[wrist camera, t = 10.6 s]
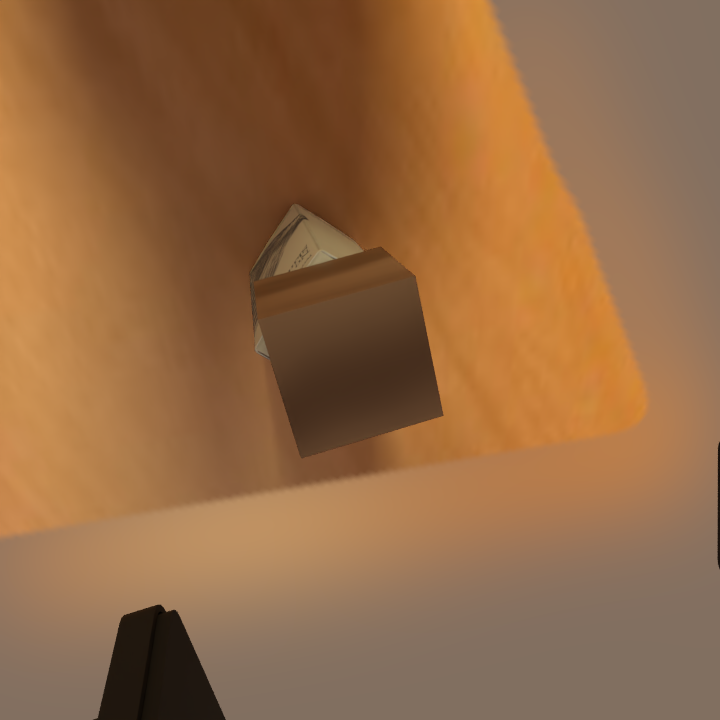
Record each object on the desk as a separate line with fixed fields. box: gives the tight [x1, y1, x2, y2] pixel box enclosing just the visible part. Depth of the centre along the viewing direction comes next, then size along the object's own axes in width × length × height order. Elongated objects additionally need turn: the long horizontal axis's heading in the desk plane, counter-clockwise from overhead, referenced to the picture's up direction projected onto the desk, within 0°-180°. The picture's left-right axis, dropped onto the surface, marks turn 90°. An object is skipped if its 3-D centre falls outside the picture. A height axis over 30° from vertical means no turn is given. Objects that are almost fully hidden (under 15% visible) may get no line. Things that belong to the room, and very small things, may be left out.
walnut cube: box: [254, 247, 443, 458], centre depth 22 cm, size 5×5×5 cm
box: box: [249, 203, 363, 360], centre depth 31 cm, size 5×4×13 cm
